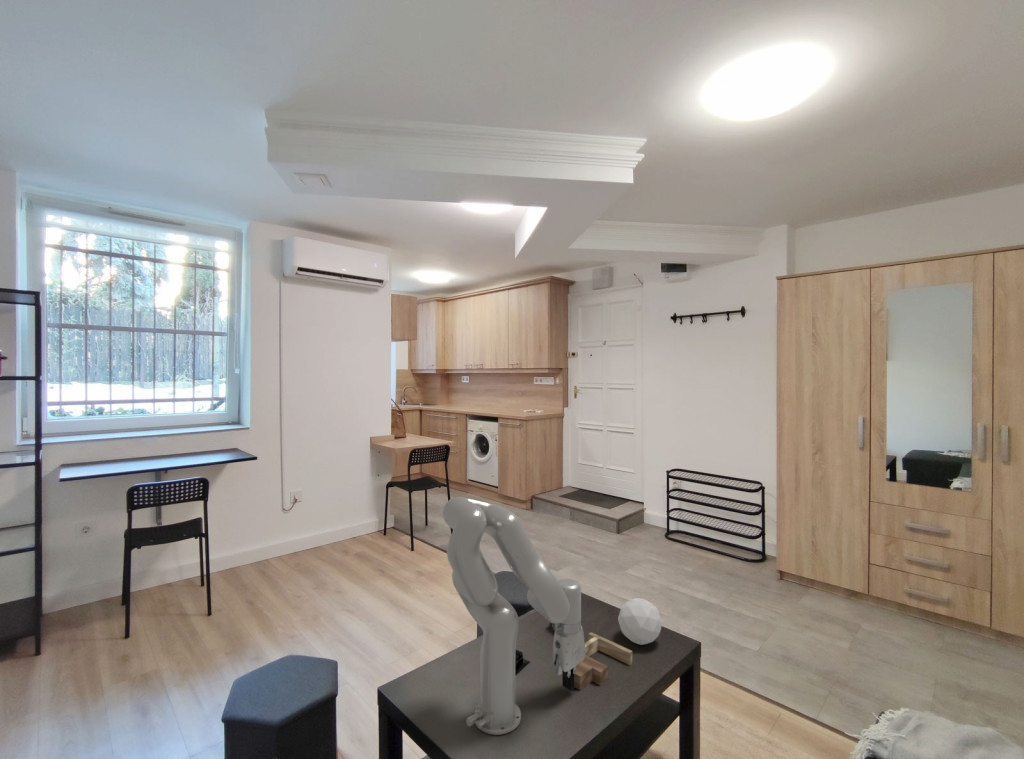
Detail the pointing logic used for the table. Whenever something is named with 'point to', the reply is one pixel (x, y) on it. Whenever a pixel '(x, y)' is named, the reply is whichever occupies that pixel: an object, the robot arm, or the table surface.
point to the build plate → (519, 661)
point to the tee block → (590, 673)
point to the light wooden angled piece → (607, 648)
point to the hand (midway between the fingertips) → (568, 687)
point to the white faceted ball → (640, 621)
